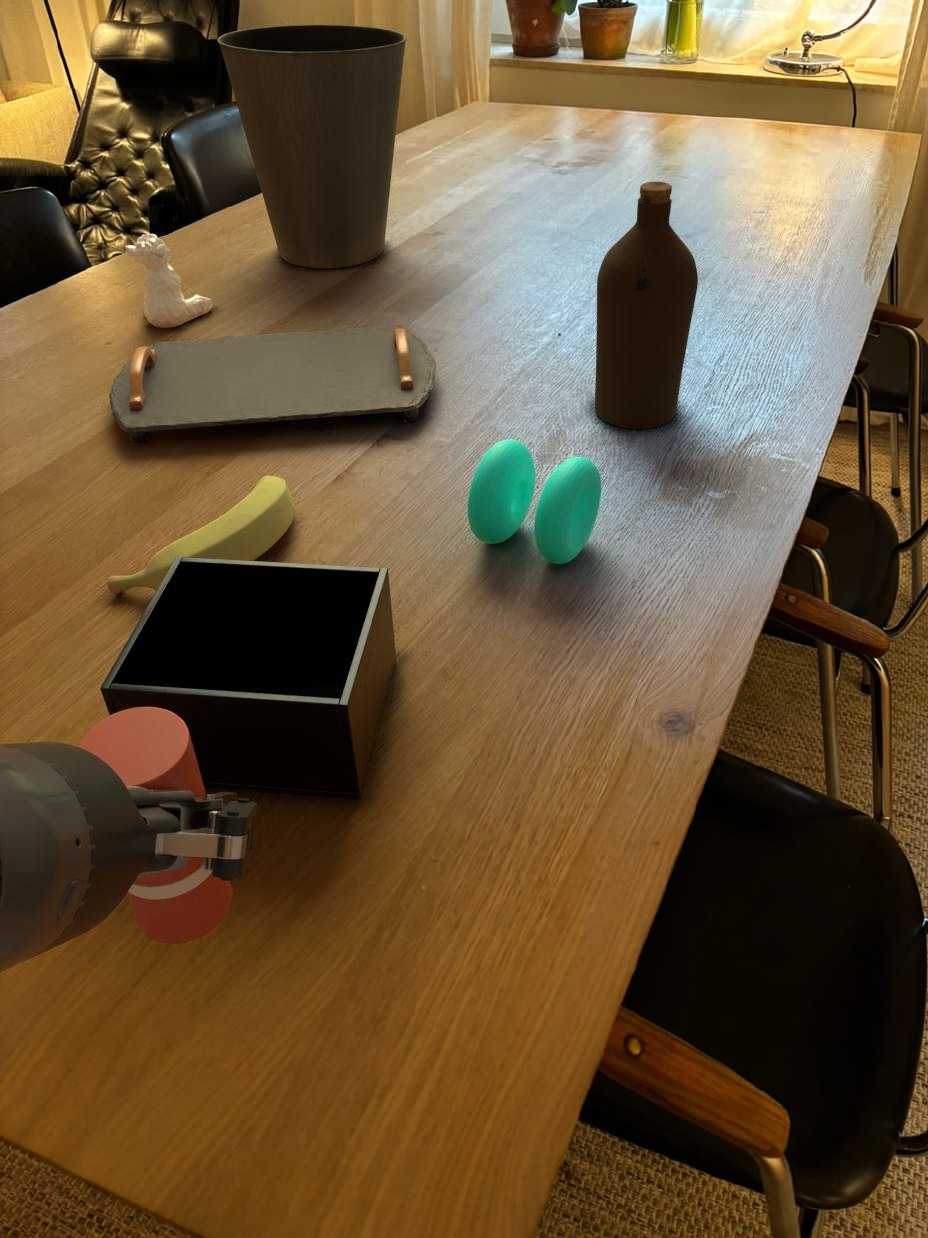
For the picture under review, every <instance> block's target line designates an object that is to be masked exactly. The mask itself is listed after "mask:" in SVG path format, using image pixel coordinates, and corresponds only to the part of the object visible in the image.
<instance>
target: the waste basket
mask: <svg viewBox="0 0 928 1238" xmlns="http://www.w3.org/2000/svg"><path fill="white" fill-rule="evenodd" d="M216 41H217V43H218V44H219V48H220V51H221V54H222V57H223V60H224V64H225V68H226V71H227V75H228V78H229V82H230V85H231V89H232V92H233V95H234V99H235V102H236V106H237V110H238V113H239V116H240V120H241V123H242V127H243V131H244V135H245V137H246V141H247V145H248V149H249V153H250V156H251V160H252V162H253V166H254V168H255V174H256V177H257V180H258V184H259V187H260V190H261V191H260V192H261V195H262V198H263V201H264V202H263V203H264V205H265V209H266V212H267V215H268V219H269V222H270V226H271V230H272V233H273V236H274V240H275V244H276V248H277V251H278V254H279V256H280V257H281V258H282V259H283V260H284V261H286V262H287V263H289V264H292V265H294V266H297V267H303V268H311V269H340V268H349V267H354V266H358V265H362V264H366V263H368V262H370V261H373V260H374V259H376V258H378V257H379V256H380V255H381V254H382V253H383V251H384V249H385V243H386V233H387V223H388V213H389V203H390V193H391V185H392V184H391V183H392V173H393V163H394V156H395V155H394V154H395V144H396V135H397V124H398V116H399V115H398V114H399V107H400V106H399V105H400V95H401V85H402V76H403V67H404V58H405V50H406V42H407V41H408V37H407V35H406V34H404V33H403V32H400V31H397V30H392V29H389V28H383V27H375V26H365V25H351V24H323V23H322V24H288V25H287V24H285V25H271V26H270V25H268V26H260V27H252V28H245V29H240V30H239V29H238V30H235V31H231V32H230V31H229V32H227V33H225V34H222V35H220V36H219V37H218V38H217V40H216Z"/></svg>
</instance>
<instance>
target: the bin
mask: <svg viewBox="0 0 928 1238" xmlns="http://www.w3.org/2000/svg"><path fill="white" fill-rule="evenodd" d="M390 585H391V584H390V576H389V568H388V567H372V566H370V567H369V566H354V565H352V566H350V565H337V564H336V565H335V564H315V563H299V562H298V563H295V562H279V561H278V562H277V561H260V560H259V561H257V560H254V561H242V560H224V559H205V558H186V557H183V558H182V557H176V558H175V559H174V561H173V563H172V564H171V566H170V568H169V570H168V571H167V573H166V575H165V577H164V578H163V580H162V582H161V584H160V585H159V587H158V589H157V590H155V592H154V594H153V595H152V597H151V599H150V601H149V602H148V605H147V606H146V608H145V609H144V611H143V613H142V615H141V617H140V618H139V619H138V621H137V623H136V625H135V627H134V629H133V631H132V632H131V634H130V635H129V637H128V639H127V641H126V643H125V644H124V646H123V648H122V649H121V651H120V652H119V655H118V656H117V658H116V660H115V661H114V663H113V665H112V666H111V668H110V670H109V672H108V673H107V676H105V678H104V681H102V683H101V686H100V687H99V690H100V693H101V696H102V698H103V700H104V703H105V706H106V709H107V712H108V716H110V715H112V714H114V713H117V712H120V711H123V710H126V709H131V708H137V707H156V708H162V709H166V710H168V711H171V712H173V713H174V714H176V715H177V716H179V717H180V718H181V719H182V720H183V721H184V722H185V724H186V725H187V728H188V730H189V733H190V737H191V741H192V744H193V748H194V752H195V755H196V759H197V763H198V766H199V770H200V774H201V777H202V781H203V785H204V788H209V789H223V790H224V789H225V790H235V791H236V790H237V791H248V792H260V793H261V792H262V793H272V794H273V793H274V794H286V795H298V796H310V797H323V798H336V799H347V800H361V799H362V796H363V792H364V788H365V783H366V779H367V777H368V771H369V769H370V765H371V759H372V756H373V752H374V748H375V744H376V740H377V736H378V732H379V729H380V725H381V722H382V717H383V713H384V709H385V705H386V701H387V698H388V693H389V690H390V686H391V681H392V678H393V674H394V670H395V667H396V662H397V652H396V642H395V630H394V619H393V609H392V596H391V586H390Z"/></svg>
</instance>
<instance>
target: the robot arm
mask: <svg viewBox="0 0 928 1238" xmlns="http://www.w3.org/2000/svg"><path fill="white" fill-rule="evenodd" d="M154 804H159V805H160V808H159V807H158V806H156V805H154ZM257 804H258V802H255V801H250V798H244V797H243V798H242V797H241V798H239V795H238V793H237V792H233V791H232V792H231V791H220V792H216V793H206V794H205V796H198V797H194V795H193V793H192V792H191V791H189V790H182V789H175V788H149V789H146V788H144V787H138V786H131V785H125V784H124V782H123V781H122V779H121V778H120V777H119V776H118V774H117V773H116V772H115V771H114V770H113V769H112V768H111V767H110V766H109V765H108V764H107V763H106V762H104V761H103V760H102V759H100V758H99V757H97V756H96V755H94V754H92V753H90V752H89V751H87V750H84V749H82V748H80V747H77V746H76V745H73V744H70V743H65V742H60V741H59V742H58V741H31V742H15V743H0V973H2V972H5V971H7V970H9V969H12V968H13V967H16V966H17V965H20V964H22V963H24V962H26V961H29V960H31V959H33V958H35V957H36V956H39V955H42V954H44V953H46V952H48V951H50V950H52V949H54V948H57V947H58V946H60V945H61V946H62V945H63V944H65V943H67V942H69V941H71V940H74V939H76V938H78V937H80V936H83V935H85V934H86V933H88V932H90V931H91V930H93V929H95V928H96V927H97V926H99V925H100V924H101V923H103V922H104V921H105V920H106V919H107V918H108V917H109V916H111V914H112V913H113V912H114V911H115V910H116V909H117V908H118V906H119V905H120V903H122V900H123V899H124V898H125V897H126V894H127V892H128V891H129V889H130V888H131V886H132V885H133V883H135V882H136V881H137V880H138V879H139V878H140V877H141V876H143V875H149V874H155V873H161V872H167V871H173V870H179V869H182V868H184V867H185V865H186V864H187V862H188V860H189V858H190V857H205V859H204V870H205V871H212V876H213V877H217V878H220V880H224V881H230V882H231V881H234V880H235V879H241V878H243V876H244V874H245V871H246V870H247V868H248V865H249V864H250V862H251V859H252V857H253V848H254V840H255V839H254V838H255V829H256V828H255V827H256V817H257V807H258V805H257ZM194 813H195V819H194V829H193V830H191V820H192V816H193V814H194Z"/></svg>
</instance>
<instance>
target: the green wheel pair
mask: <svg viewBox="0 0 928 1238" xmlns="http://www.w3.org/2000/svg"><path fill="white" fill-rule="evenodd" d="M535 488H536V466H535V461H534V458H533V456H532V454H531V452H530V450H529V449H528V447H527V446H526V445H525V444H524V443H522V442H520V440H519V441H518V440H517V439H511V438H509V439H503V440H499V441H498V442H495V444H493V445H491V446H490V448H489V449H488V450H486V452H485V454H484V455H483V456H482V458H481V459H480V461H479V463H478V465H477V467H476V469H475V471H474V474H473V477H472V480H471V483H470V488H469V492H468V497H467V519H468V523H469V528H470V530H471V531H472V533H473V535H474V536H475V537H476V539H478V540H479V541H481V542H482V543H485V544H488V545H489V544H491V545H495V544H500V543H503V542H505V541H507V540H509V539H510V538H511V537H512V536H513V535H515V533H516V532H517V531H518V530H519V529H520V527H521V526H522V525H523V523H524V521H525V519H526V517H527V516H528V514H529V511H530V509H531V505H532V501H533V500H534V499H533V498H534V494H535ZM601 497H602V480H601V474H600V472H599V469H598V468H597V466H596V464H595V463H594V462H593V461H592V460H590V459H589V458H587V457H583V456H573V457H570V458H568V459H566V460H564V461H563V462H561V463H560V464H558V466H556V468H554V469H553V471H552V472H551V474H550V475H549V477H548V478H547V480H546V482H545V484H544V485H543V488H542V490H541V493H540V496H539V497H538V502H537V505H536V510H535V515H534V521H533V522H534V523H533V524H534V525H533V526H534V527H533V528H534V530H533V532H534V539H535V544H536V548H537V549H538V551H539V553H540V554H541V556H542V557H543V558H544V559H545V560H546V561H547V562H549V563H551V564H554V565H564V564H568V563H570V562H572V561H573V560H574V559H576V558H577V557H578V555H579V554H580V553H581V552H582V550H583V549H584V548H585V546H586V545H587V542H588V540H589V539H590V536H591V534H592V532H593V529H594V526H595V524H596V520H597V517H598V514H599V509H600V503H601V499H602V498H601Z"/></svg>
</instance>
